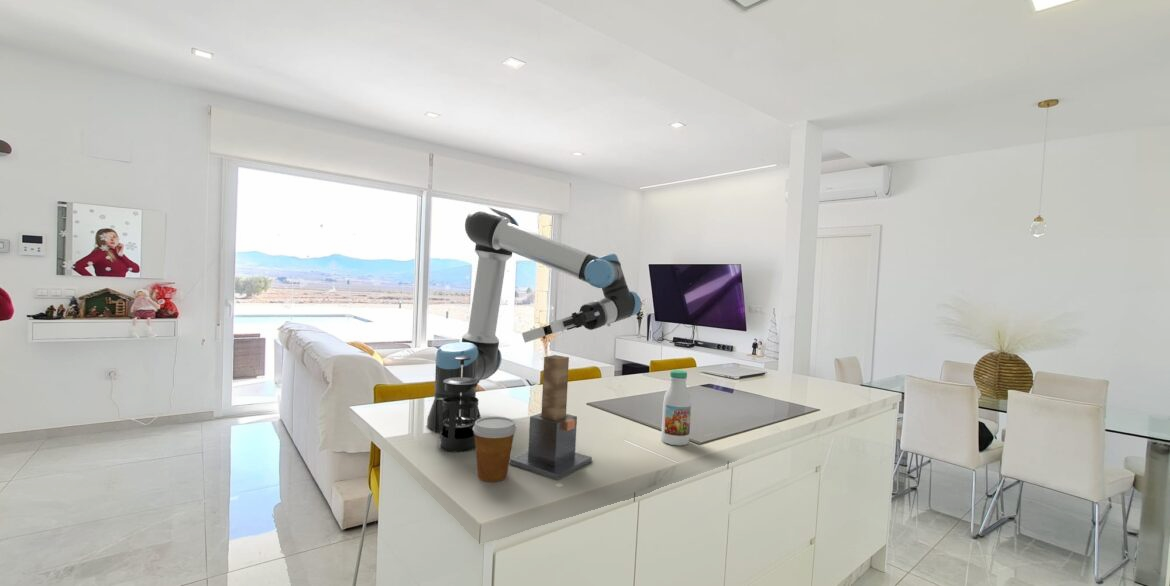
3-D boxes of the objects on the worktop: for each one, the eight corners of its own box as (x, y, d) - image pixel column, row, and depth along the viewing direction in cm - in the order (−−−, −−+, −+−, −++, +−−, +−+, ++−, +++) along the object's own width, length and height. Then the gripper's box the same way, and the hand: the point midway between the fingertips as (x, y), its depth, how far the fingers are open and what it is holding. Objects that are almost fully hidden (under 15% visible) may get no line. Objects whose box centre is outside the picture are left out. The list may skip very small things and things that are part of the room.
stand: (509, 464, 115) (511, 416, 115) (546, 448, 127) (548, 405, 126) (557, 479, 107) (559, 429, 107) (591, 461, 119) (594, 416, 119)
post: (538, 457, 116) (543, 356, 116) (550, 452, 120) (554, 355, 119) (553, 461, 114) (558, 359, 113) (564, 456, 117) (569, 357, 117)
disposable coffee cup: (462, 474, 108) (464, 420, 107) (498, 464, 114) (500, 413, 114) (486, 489, 101) (488, 431, 100) (523, 477, 107) (525, 423, 107)
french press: (485, 442, 129) (489, 355, 128) (470, 454, 120) (474, 361, 119) (444, 437, 131) (447, 352, 131) (426, 449, 122) (430, 357, 121)
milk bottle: (655, 440, 138) (659, 369, 137) (672, 435, 143) (676, 367, 143) (677, 448, 132) (681, 374, 132) (694, 443, 137) (698, 372, 137)
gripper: (631, 317, 129) (569, 338, 115) (575, 334, 148) (517, 354, 134) (622, 290, 129) (560, 308, 115) (568, 311, 148) (509, 328, 134)
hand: (537, 333), depth 125 cm, fingers open, 13 cm apart
